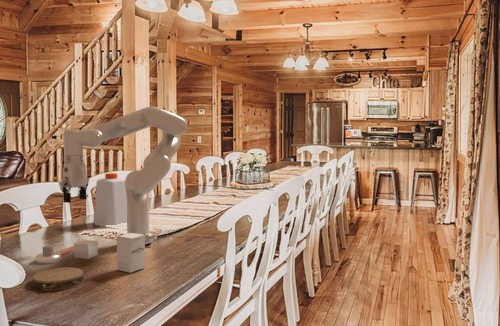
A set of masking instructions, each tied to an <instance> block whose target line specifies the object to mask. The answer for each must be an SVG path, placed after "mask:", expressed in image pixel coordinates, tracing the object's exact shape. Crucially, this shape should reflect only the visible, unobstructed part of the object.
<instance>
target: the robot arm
mask: <svg viewBox="0 0 500 326" xmlns="http://www.w3.org/2000/svg"><path fill="white" fill-rule="evenodd" d="M150 127H153V128H156V129H159V130H161V131H162V139H161V140H160V142H159V143H158V144H157V145H156V147H155V148H153V150H152V151H151V152H150V153H149V154H148V155H147V156H146V157H144V160H143V163H142V165H143V167H142V168H141V170H131V171H130V172H129V173H128V174H127V175H126V177H125V178H124V179H125V189H126V199H127V225H126V226H127V227H126V232H127V233H126V234H129V233H136V234H143V235H145V245H147V244H150V243H153V242H154V241H156V240H157V239H158V235H157V234H153V233H152V231H151V230H150V208H149V207H150V200H149V193H151V192H152V191H153V190H154V189H156V187H157V186H158V185H159V183H161V181H162V180H164V178H165V177H166V176H167V174H168V173H169V172H170V170H171V164H172V163H171V160H172V159H173V157H174V156H175V155H176V154H177V152H178V151H179V149H180V145H181V140H182V139H181V137H182V136H183V135H185V134H186V132H187V131H188V123H187V121H186V120H185V119H184V118H183V117H181V116H179V115H177V114H175V113H172V112H169V111H167V110H166V109H164V108H161V107H158V106H154V105H153V106H147V107H144V108H141V109H137V110H134V111H133V112H129V113H127V114H125V115H122V116H118V117H116V118H113V119H111V120H109V121H106V122H104V123H100V124H97V125H95V126H93V127H88V128H87V129H65V130H64V131H63V161H64V163H63V168H62V179H61V180H60V181H59V183H58V186H59V189H60V190H61V192H62V195H63V196H62V199H63V203H67V204H68V203H69V204H70V203H71V200H72V195H71V190H72V189H73V188H79V190H78V199H79V200H87V190H88V186H89V182H90V178H89V177H88V173H87V168H86V167H87V166H86V163H85V162H84V160H85V159H84V147H89V148H90V147H91V148H96V147H99V146H100V145H102V144H103V142H105V141H108V140H112V139H115V138H116V139H117V138H121V137H126V136H129V135H132V134H134V133H137V132H139V131H142V130H146V129H147V128H150Z"/></svg>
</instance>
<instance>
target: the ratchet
mask: <svg viewBox="0 0 500 326" xmlns="http://www.w3.org/2000/svg"><path fill="white" fill-rule="evenodd" d="M71 254H74V245H73V246H70V247H67V248H64V249H61V250H59V251H54V245H49V244H48V245H44V246H43V247H42V253H39V254H37V255H35V264H38V265H52V264H56V263H58V262H60V261H62V258H64V257H66V256H68V255H71Z"/></svg>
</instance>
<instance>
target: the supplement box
mask: <svg viewBox="0 0 500 326" xmlns="http://www.w3.org/2000/svg"><path fill="white" fill-rule="evenodd" d="M145 268H146V244H145V235H143V234H136V233H129V234H127V233H125V234H120V235H117V236H116V269H117V271H121V272H126V273H130V274H131V273H133V272H136V271H138V270H139V271H140V270H143V269H145Z"/></svg>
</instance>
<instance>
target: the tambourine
mask: <svg viewBox="0 0 500 326" xmlns="http://www.w3.org/2000/svg"><path fill="white" fill-rule="evenodd" d="M83 282H84V270H83V269H81V268H78V267H71V266H69V267H67V266H66V267H64V266H63V267H62V266H61V267H53V268H50V269H49V268H48V269H45V270H40V271H37V272H36V273H34V274H33V276H32V285H33V287H34V288H35V289H39V290H41V291H61V290H66V289H71V288H75V287H78V286H79V285H81V284H82V283H83Z"/></svg>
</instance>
